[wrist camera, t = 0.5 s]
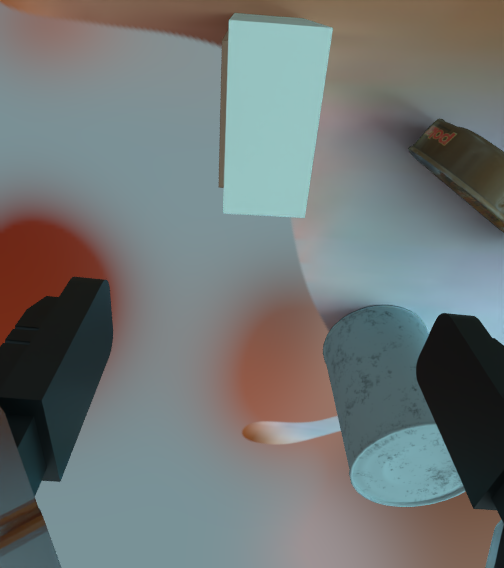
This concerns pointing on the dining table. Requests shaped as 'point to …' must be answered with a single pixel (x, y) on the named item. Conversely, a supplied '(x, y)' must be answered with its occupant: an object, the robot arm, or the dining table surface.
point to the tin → (465, 166)
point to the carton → (270, 112)
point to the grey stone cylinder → (387, 409)
